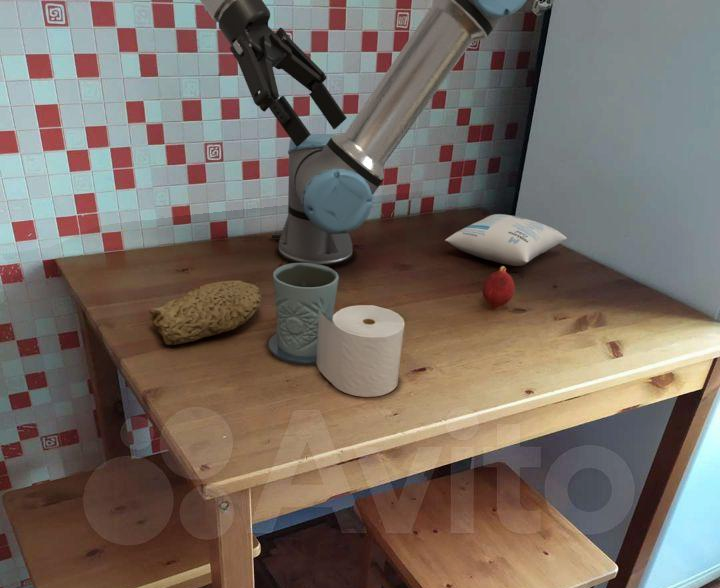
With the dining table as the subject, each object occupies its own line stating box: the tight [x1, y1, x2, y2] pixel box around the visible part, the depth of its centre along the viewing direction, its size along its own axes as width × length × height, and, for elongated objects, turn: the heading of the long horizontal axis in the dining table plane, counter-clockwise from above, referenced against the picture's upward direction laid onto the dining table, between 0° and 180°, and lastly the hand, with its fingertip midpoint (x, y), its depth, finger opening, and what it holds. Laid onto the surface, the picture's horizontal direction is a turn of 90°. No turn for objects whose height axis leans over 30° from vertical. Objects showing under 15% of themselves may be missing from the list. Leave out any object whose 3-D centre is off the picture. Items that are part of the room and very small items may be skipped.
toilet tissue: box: [315, 304, 406, 398], centre depth 114 cm, size 11×12×10 cm
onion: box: [482, 265, 515, 309], centre depth 140 cm, size 6×6×8 cm
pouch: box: [444, 213, 568, 267], centre depth 161 cm, size 8×19×20 cm
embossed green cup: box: [272, 262, 339, 358], centre depth 120 cm, size 10×10×12 cm
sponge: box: [148, 279, 262, 346], centre depth 125 cm, size 13×8×20 cm
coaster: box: [268, 333, 317, 366], centre depth 124 cm, size 12×12×1 cm
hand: (323, 132), depth 118 cm, fingers open, 13 cm apart
